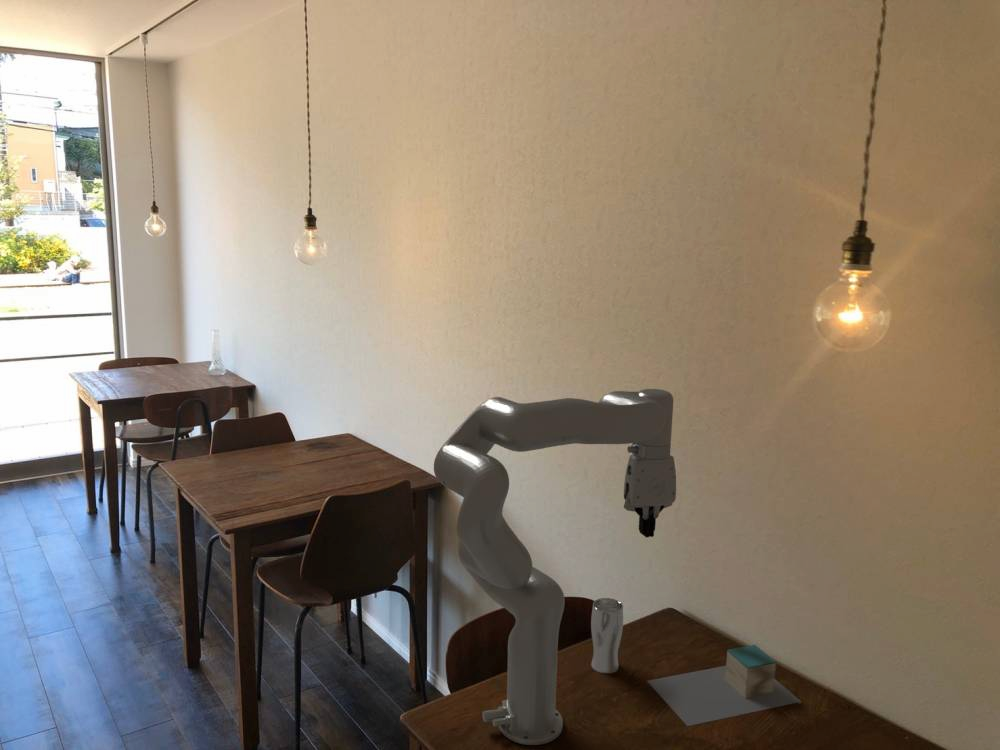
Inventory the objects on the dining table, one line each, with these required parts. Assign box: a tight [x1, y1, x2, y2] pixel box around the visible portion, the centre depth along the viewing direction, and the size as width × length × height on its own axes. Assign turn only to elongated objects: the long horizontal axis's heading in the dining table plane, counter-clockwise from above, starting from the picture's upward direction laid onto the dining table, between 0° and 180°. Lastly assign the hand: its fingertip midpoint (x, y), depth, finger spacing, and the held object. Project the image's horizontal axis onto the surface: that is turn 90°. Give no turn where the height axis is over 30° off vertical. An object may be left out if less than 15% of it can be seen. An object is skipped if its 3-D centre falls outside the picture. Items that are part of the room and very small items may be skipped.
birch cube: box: [725, 644, 777, 698], centre depth 164 cm, size 7×7×7 cm
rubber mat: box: [646, 665, 802, 727], centre depth 163 cm, size 27×16×1 cm, turn 109°
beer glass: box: [590, 597, 624, 674], centre depth 170 cm, size 7×7×15 cm
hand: (646, 534), depth 161 cm, fingers closed
